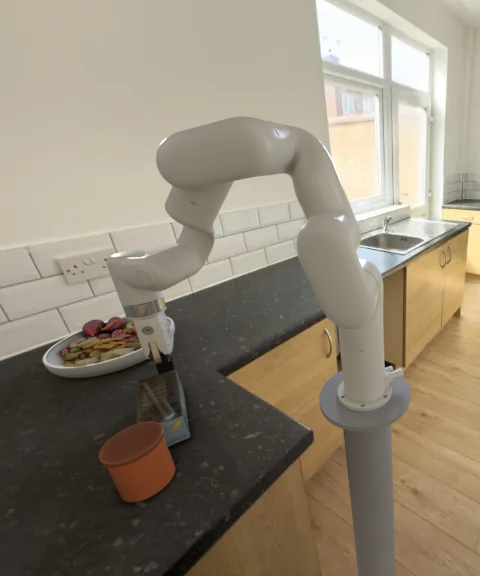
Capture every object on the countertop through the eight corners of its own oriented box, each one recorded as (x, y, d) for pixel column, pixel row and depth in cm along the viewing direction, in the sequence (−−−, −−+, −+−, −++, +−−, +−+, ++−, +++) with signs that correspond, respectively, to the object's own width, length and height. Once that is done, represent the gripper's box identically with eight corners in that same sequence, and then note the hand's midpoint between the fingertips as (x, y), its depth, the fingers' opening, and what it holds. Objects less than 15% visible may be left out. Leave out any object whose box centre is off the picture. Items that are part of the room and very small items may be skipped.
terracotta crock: (178, 451, 61) (165, 414, 58) (176, 488, 54) (160, 448, 51) (123, 471, 57) (105, 433, 54) (112, 514, 50) (91, 473, 47)
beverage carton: (143, 459, 59) (132, 432, 57) (144, 401, 74) (135, 378, 72) (191, 438, 64) (183, 412, 61) (183, 388, 78) (176, 365, 76)
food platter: (198, 338, 101) (192, 316, 98) (83, 397, 76) (70, 370, 73) (144, 321, 114) (137, 300, 111) (30, 367, 89) (17, 343, 86)
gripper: (162, 314, 66) (185, 386, 73) (167, 292, 79) (186, 355, 85) (117, 324, 63) (145, 397, 70) (129, 298, 75) (153, 363, 82)
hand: (168, 374), depth 78 cm, fingers closed
